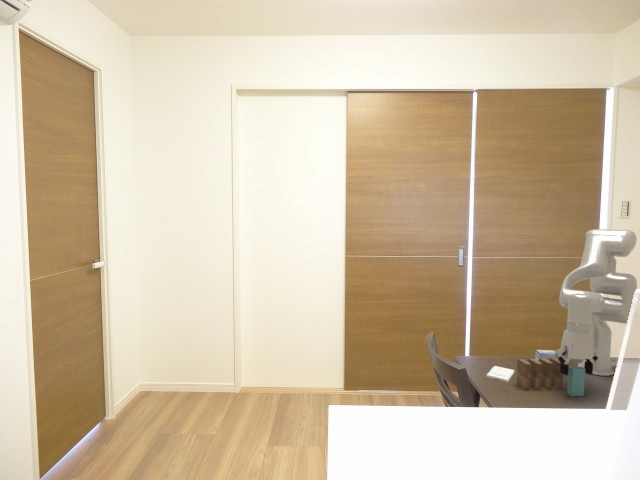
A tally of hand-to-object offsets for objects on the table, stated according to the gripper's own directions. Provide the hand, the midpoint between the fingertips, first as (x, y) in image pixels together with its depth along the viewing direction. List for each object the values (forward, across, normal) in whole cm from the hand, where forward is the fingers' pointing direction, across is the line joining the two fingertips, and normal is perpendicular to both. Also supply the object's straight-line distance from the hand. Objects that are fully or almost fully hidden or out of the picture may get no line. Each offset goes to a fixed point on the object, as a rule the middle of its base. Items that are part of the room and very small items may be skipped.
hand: (576, 373), depth 148 cm
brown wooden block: (+8, +10, -9) cm, 16 cm away
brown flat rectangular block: (+8, +6, -9) cm, 13 cm away
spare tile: (+8, -1, -1) cm, 8 cm away
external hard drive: (+9, +16, -21) cm, 28 cm away
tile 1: (+8, +1, -8) cm, 12 cm away
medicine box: (+8, -5, -22) cm, 23 cm away
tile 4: (+8, +15, -9) cm, 19 cm away
